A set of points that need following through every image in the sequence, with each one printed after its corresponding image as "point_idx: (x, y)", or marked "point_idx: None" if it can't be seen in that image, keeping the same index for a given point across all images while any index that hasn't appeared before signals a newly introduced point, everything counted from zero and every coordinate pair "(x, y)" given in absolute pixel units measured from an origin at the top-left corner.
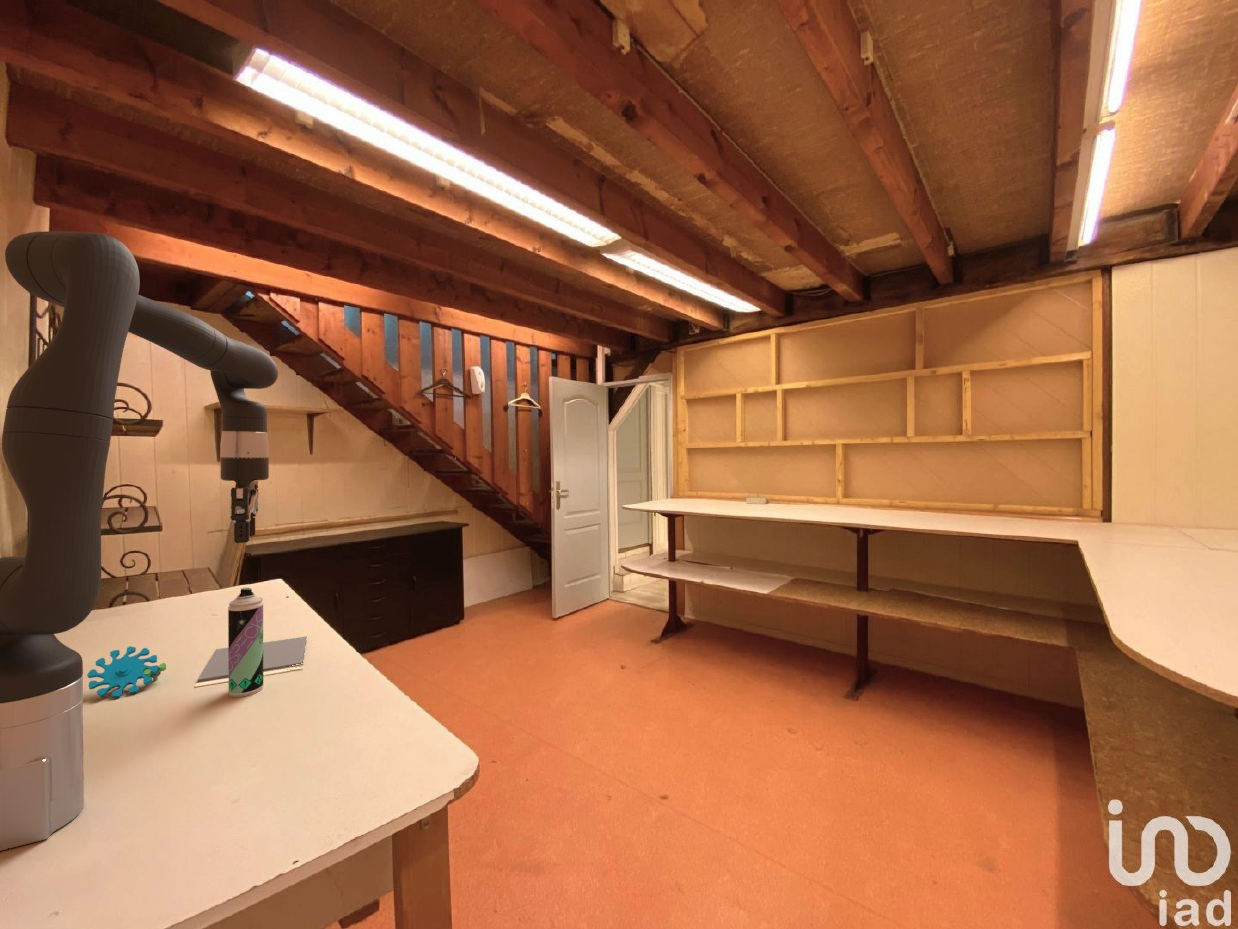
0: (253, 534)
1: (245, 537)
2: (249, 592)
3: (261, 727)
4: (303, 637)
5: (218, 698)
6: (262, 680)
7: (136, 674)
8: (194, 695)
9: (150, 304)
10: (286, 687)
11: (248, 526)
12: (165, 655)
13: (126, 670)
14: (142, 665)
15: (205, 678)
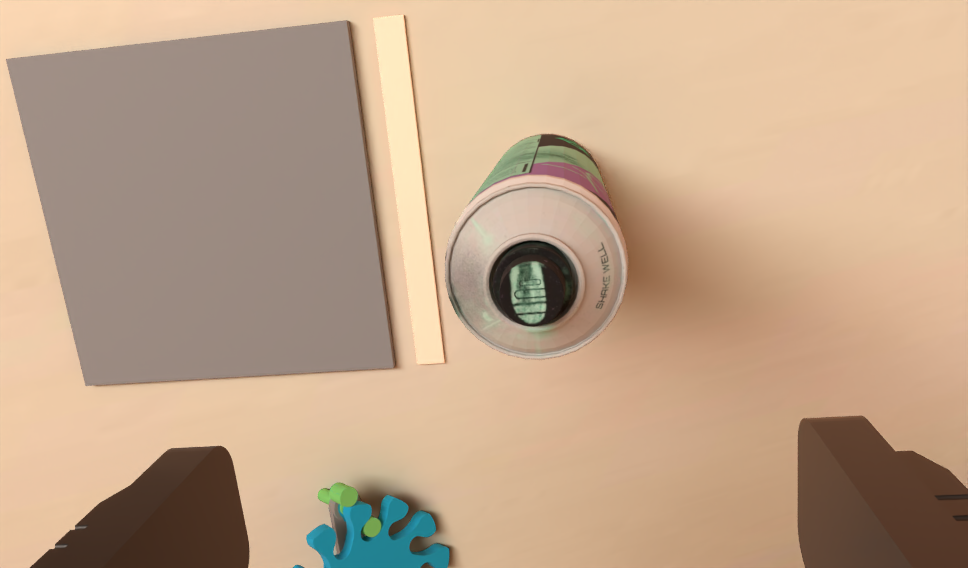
0: (223, 460)
1: (947, 471)
2: (554, 265)
3: (911, 67)
4: (18, 71)
5: None
6: (555, 136)
7: (384, 550)
8: None
9: None
10: (576, 46)
11: (962, 541)
12: None
13: None
14: (353, 554)
15: (390, 347)
